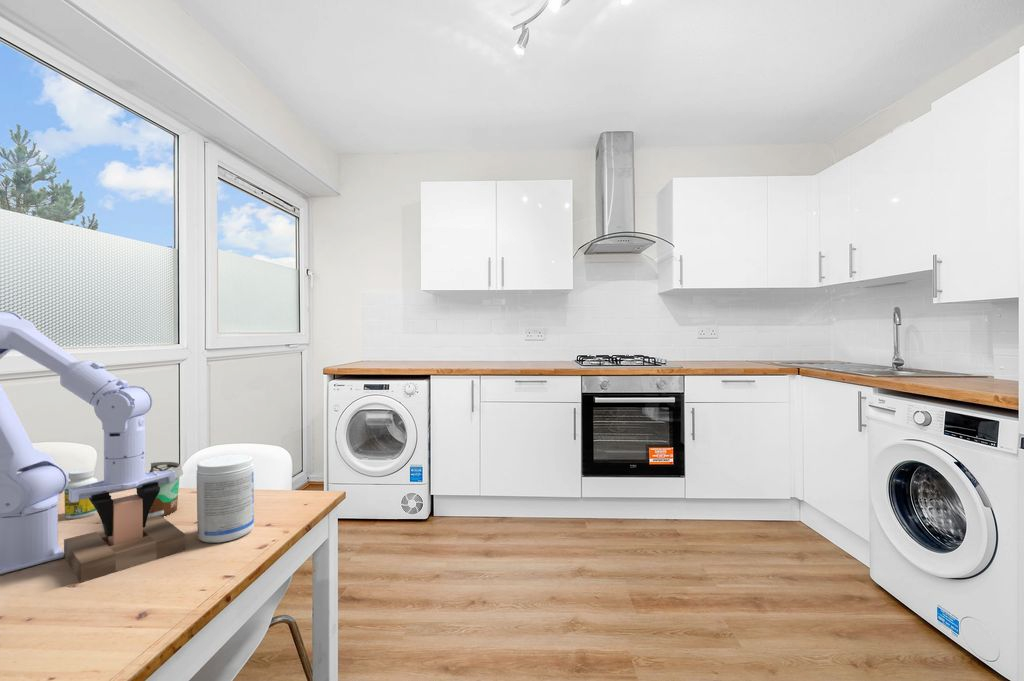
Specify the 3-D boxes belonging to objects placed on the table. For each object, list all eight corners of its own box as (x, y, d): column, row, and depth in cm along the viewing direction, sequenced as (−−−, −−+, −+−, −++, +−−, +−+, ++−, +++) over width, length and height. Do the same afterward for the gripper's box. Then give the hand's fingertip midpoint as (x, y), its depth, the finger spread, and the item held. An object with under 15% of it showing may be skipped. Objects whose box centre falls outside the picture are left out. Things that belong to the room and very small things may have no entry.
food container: (182, 517, 99) (182, 471, 99) (146, 523, 95) (145, 475, 95) (184, 500, 109) (183, 458, 109) (151, 505, 106) (151, 462, 105)
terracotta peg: (108, 544, 82) (107, 500, 82) (136, 537, 85) (136, 494, 85) (114, 551, 80) (113, 505, 80) (142, 543, 83) (142, 498, 83)
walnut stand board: (63, 556, 81) (63, 539, 81) (160, 530, 92) (160, 515, 92) (80, 582, 73) (80, 563, 73) (184, 550, 84) (184, 533, 84)
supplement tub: (264, 528, 93) (264, 456, 93) (219, 548, 84) (219, 469, 84) (231, 521, 97) (231, 451, 97) (185, 539, 88) (185, 463, 88)
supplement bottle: (104, 510, 102) (104, 468, 102) (78, 520, 97) (78, 475, 97) (84, 509, 103) (84, 466, 103) (57, 518, 98) (57, 473, 98)
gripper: (74, 468, 74) (74, 551, 74) (180, 450, 86) (180, 523, 86) (65, 460, 78) (66, 539, 79) (168, 445, 90) (168, 514, 90)
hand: (125, 530), depth 82 cm, fingers closed on terracotta peg, 4 cm apart
